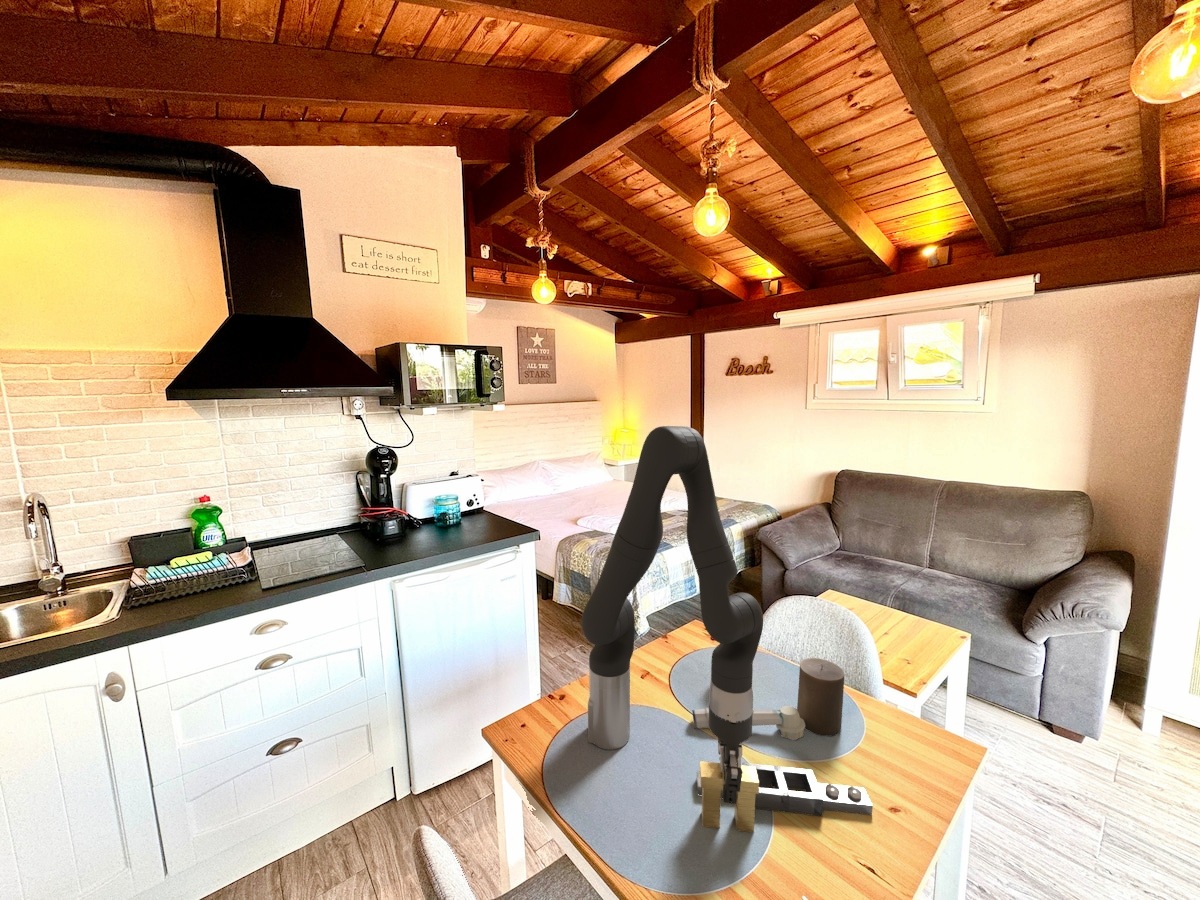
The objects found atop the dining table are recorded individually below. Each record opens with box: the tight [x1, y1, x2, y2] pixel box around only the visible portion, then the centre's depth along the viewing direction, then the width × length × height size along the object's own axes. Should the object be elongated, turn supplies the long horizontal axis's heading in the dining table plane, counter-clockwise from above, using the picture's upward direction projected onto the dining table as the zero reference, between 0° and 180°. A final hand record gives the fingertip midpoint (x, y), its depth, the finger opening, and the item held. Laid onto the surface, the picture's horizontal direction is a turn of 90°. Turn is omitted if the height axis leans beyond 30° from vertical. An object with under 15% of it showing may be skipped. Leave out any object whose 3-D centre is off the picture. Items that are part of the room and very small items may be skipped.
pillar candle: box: [796, 657, 845, 737], centre depth 112 cm, size 10×10×15 cm
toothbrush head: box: [691, 705, 806, 741], centre depth 110 cm, size 5×7×25 cm
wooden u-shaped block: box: [699, 760, 760, 833], centre depth 86 cm, size 10×4×10 cm, turn 82°
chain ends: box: [696, 762, 874, 817], centre depth 92 cm, size 32×7×4 cm, turn 82°
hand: (728, 791), depth 86 cm, fingers closed on wooden u-shaped block, 3 cm apart
